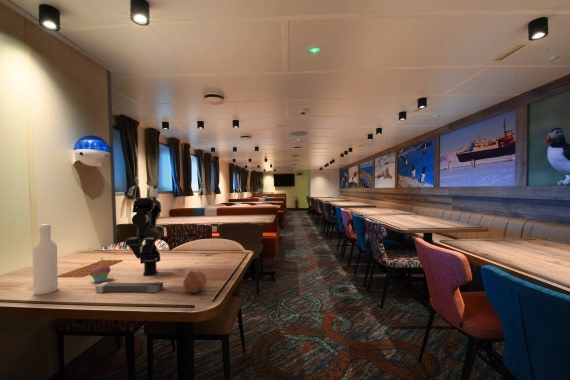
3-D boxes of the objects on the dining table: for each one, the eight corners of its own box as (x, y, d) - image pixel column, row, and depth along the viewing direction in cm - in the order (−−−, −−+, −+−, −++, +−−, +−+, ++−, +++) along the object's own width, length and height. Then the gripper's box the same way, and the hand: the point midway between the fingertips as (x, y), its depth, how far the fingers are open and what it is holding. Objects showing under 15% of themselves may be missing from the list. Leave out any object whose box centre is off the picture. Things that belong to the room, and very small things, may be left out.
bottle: (35, 296, 103) (35, 226, 103) (30, 292, 107) (29, 225, 107) (60, 289, 110) (59, 223, 110) (54, 286, 114) (53, 222, 114)
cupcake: (114, 278, 123) (114, 255, 123) (95, 284, 115) (95, 259, 115) (104, 276, 126) (104, 253, 126) (85, 282, 119) (85, 257, 119)
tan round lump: (187, 298, 105) (178, 277, 107) (207, 287, 111) (199, 267, 112) (190, 298, 98) (181, 275, 99) (212, 286, 103) (203, 264, 105)
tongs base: (94, 293, 106) (94, 286, 106) (103, 288, 110) (103, 282, 110) (156, 293, 104) (156, 286, 104) (162, 288, 109) (162, 282, 109)
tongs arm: (108, 289, 108) (108, 284, 108) (112, 287, 111) (112, 282, 111) (160, 289, 107) (160, 284, 107) (163, 287, 110) (163, 282, 110)
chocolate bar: (123, 261, 155) (123, 259, 155) (81, 278, 126) (81, 276, 126) (102, 261, 156) (102, 259, 156) (55, 278, 126) (55, 276, 126)
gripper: (148, 226, 107) (149, 261, 107) (170, 220, 126) (170, 250, 126) (124, 226, 108) (124, 261, 108) (149, 221, 126) (149, 251, 126)
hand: (144, 255), depth 117 cm, fingers open, 9 cm apart
